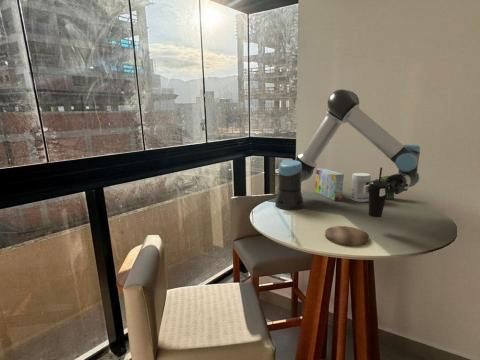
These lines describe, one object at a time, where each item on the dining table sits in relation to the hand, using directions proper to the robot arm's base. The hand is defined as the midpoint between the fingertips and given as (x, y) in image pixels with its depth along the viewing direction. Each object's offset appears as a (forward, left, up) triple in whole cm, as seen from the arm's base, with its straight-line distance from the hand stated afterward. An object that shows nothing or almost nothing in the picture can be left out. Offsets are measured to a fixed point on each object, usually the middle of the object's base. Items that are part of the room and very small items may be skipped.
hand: (372, 191), depth 115 cm
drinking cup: (+3, +3, -11) cm, 12 cm away
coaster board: (-10, -5, -17) cm, 21 cm away
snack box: (-5, +56, -18) cm, 59 cm away
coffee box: (+26, +51, -18) cm, 60 cm away
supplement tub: (+11, +48, -18) cm, 52 cm away
